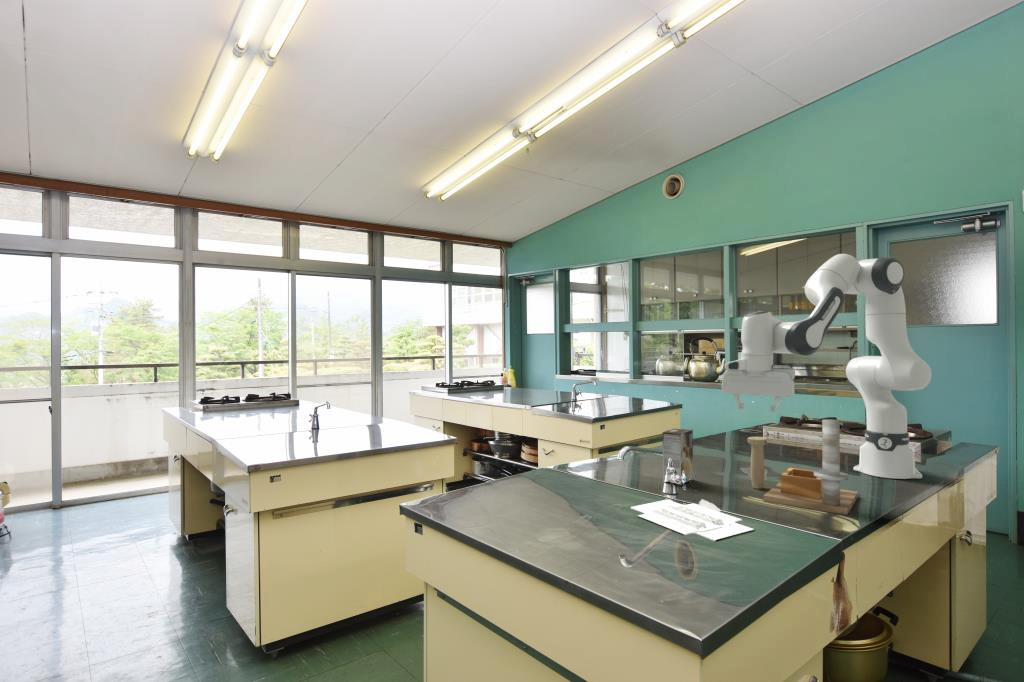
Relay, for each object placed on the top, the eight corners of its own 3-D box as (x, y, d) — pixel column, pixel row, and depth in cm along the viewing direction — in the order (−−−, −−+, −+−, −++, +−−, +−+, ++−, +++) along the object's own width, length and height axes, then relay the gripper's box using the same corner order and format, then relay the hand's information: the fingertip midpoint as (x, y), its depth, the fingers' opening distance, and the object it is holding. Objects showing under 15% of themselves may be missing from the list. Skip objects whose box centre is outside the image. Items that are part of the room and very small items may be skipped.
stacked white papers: (705, 547, 120) (705, 530, 120) (620, 516, 145) (620, 502, 145) (764, 530, 131) (763, 514, 131) (675, 504, 155) (675, 491, 155)
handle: (744, 487, 165) (744, 438, 165) (755, 484, 169) (754, 436, 169) (760, 491, 161) (759, 440, 161) (770, 487, 165) (770, 438, 165)
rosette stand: (781, 485, 167) (780, 409, 167) (857, 497, 155) (857, 414, 155) (762, 501, 151) (762, 417, 151) (846, 516, 139) (846, 423, 138)
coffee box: (674, 476, 179) (674, 427, 179) (693, 479, 175) (693, 429, 175) (662, 482, 172) (662, 431, 172) (681, 485, 168) (681, 433, 168)
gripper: (797, 365, 161) (797, 411, 161) (726, 363, 174) (726, 406, 174) (792, 365, 156) (792, 414, 156) (719, 363, 169) (719, 408, 169)
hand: (757, 410), depth 165 cm, fingers open, 8 cm apart
